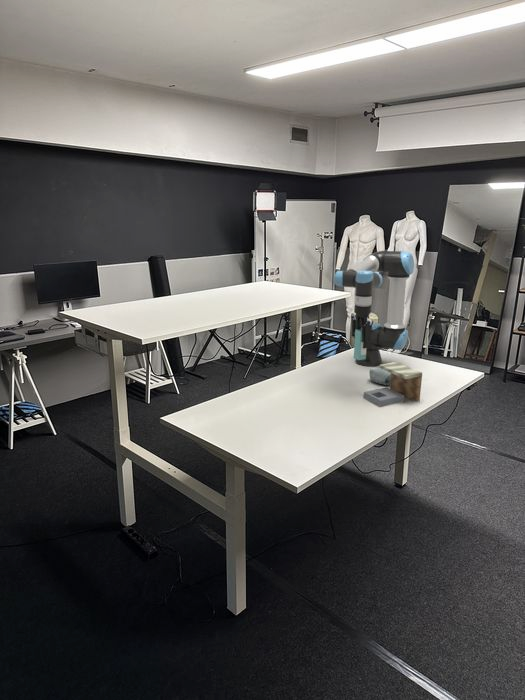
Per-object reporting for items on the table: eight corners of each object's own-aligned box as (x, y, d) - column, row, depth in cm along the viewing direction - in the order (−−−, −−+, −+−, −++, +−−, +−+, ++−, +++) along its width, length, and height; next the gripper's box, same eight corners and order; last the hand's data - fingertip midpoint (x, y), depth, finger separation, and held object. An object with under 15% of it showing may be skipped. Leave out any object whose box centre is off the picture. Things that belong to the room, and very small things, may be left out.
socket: (363, 397, 225) (363, 392, 224) (386, 392, 231) (386, 387, 230) (380, 406, 215) (380, 400, 214) (403, 401, 221) (404, 395, 220)
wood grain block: (377, 391, 232) (379, 364, 228) (393, 388, 236) (395, 361, 232) (403, 404, 217) (405, 376, 213) (419, 400, 221) (422, 372, 217)
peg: (353, 357, 226) (355, 329, 222) (360, 356, 228) (362, 328, 224) (358, 360, 222) (360, 331, 219) (365, 359, 224) (367, 330, 220)
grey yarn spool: (401, 378, 241) (393, 363, 238) (390, 390, 237) (382, 374, 234) (381, 377, 253) (373, 362, 249) (371, 388, 248) (362, 373, 245)
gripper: (345, 302, 223) (342, 349, 230) (368, 308, 209) (365, 359, 215) (357, 301, 227) (355, 347, 233) (381, 307, 212) (378, 356, 219)
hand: (360, 353), depth 224 cm, fingers closed on peg, 4 cm apart
